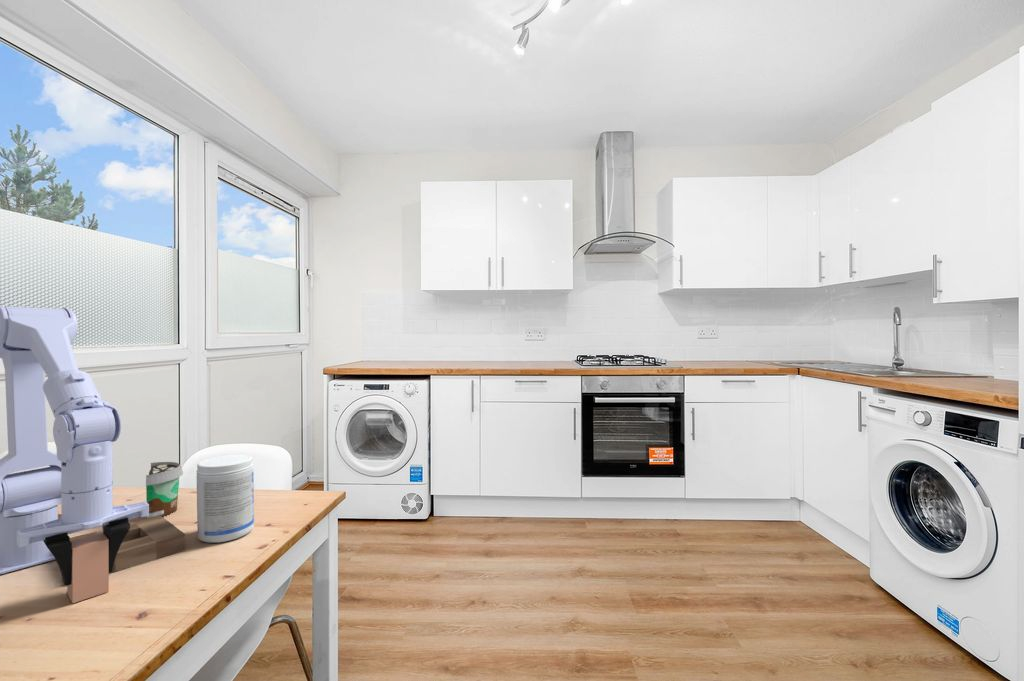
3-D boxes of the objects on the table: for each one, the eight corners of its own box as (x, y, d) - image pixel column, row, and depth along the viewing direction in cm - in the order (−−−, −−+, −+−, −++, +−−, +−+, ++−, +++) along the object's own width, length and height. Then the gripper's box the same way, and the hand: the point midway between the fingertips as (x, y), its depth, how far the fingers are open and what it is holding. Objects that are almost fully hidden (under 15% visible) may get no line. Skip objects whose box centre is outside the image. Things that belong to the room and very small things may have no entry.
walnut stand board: (63, 556, 81) (63, 539, 81) (160, 530, 92) (160, 515, 92) (80, 582, 73) (80, 563, 73) (184, 550, 84) (184, 533, 84)
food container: (182, 517, 99) (182, 471, 99) (146, 523, 95) (145, 475, 95) (184, 500, 109) (183, 458, 109) (151, 505, 106) (151, 462, 105)
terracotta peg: (67, 593, 69) (67, 541, 69) (102, 582, 72) (102, 532, 72) (72, 603, 67) (72, 548, 67) (108, 591, 70) (108, 539, 70)
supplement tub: (264, 528, 93) (264, 456, 93) (219, 548, 84) (219, 469, 84) (231, 521, 97) (231, 451, 97) (185, 539, 88) (185, 463, 88)
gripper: (21, 507, 61) (21, 608, 61) (154, 480, 73) (154, 566, 73) (14, 496, 66) (15, 590, 66) (141, 472, 77) (141, 552, 77)
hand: (87, 576), depth 70 cm, fingers closed on terracotta peg, 4 cm apart
